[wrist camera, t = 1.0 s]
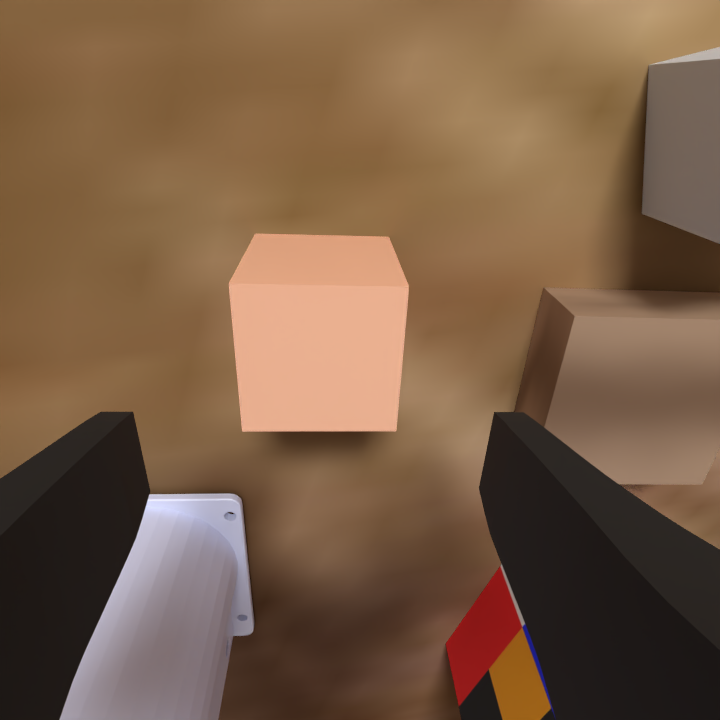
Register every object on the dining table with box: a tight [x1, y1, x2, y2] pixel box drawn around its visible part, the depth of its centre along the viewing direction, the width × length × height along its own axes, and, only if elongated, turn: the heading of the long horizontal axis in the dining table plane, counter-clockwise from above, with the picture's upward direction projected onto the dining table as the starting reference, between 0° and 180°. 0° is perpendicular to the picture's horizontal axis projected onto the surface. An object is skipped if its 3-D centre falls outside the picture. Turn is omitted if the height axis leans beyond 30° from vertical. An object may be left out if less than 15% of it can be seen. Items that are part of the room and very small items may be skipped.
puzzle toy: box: [446, 564, 556, 720], centre depth 23 cm, size 10×10×10 cm
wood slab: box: [514, 287, 720, 484], centre depth 19 cm, size 7×7×3 cm
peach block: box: [229, 234, 409, 431], centre depth 16 cm, size 4×4×5 cm
